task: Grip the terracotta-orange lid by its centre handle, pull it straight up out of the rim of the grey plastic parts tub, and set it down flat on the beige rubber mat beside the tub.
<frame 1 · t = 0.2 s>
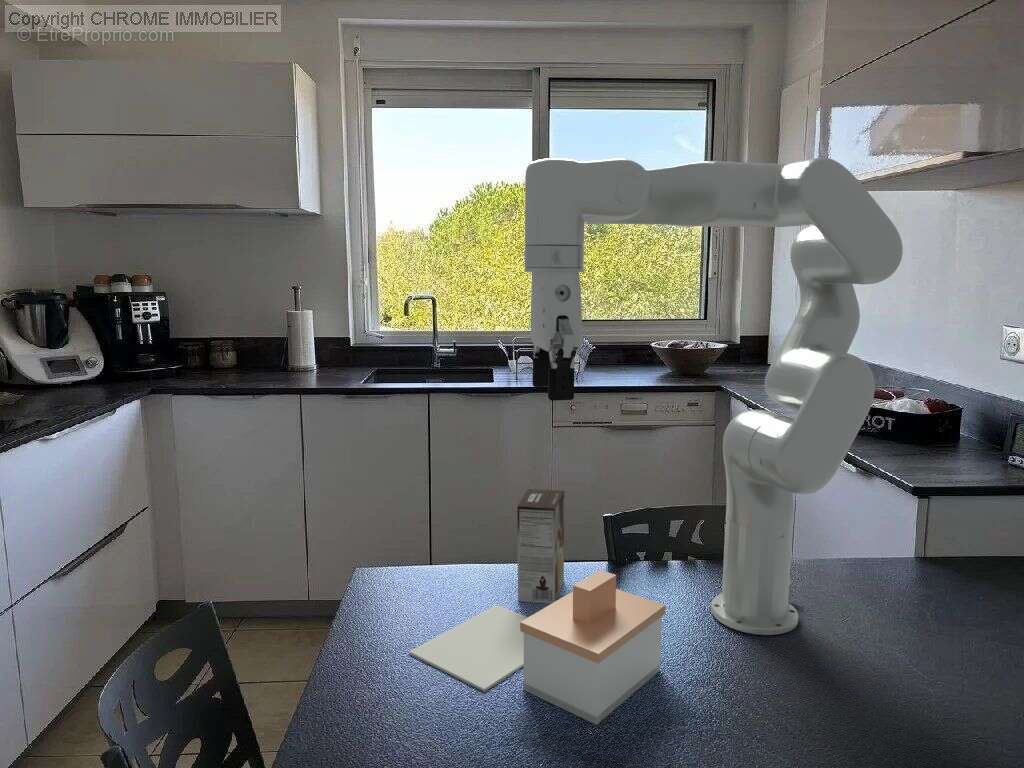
hand: (552, 392, 96), 36 cm above the table, tool pointing down, fingers open, 9 cm apart
tub: (593, 679, 95), on the table
mat: (490, 644, 103), on the table
lid: (594, 622, 93), point 8 cm above the table, touching tub
coffee box: (541, 592, 120), on the table
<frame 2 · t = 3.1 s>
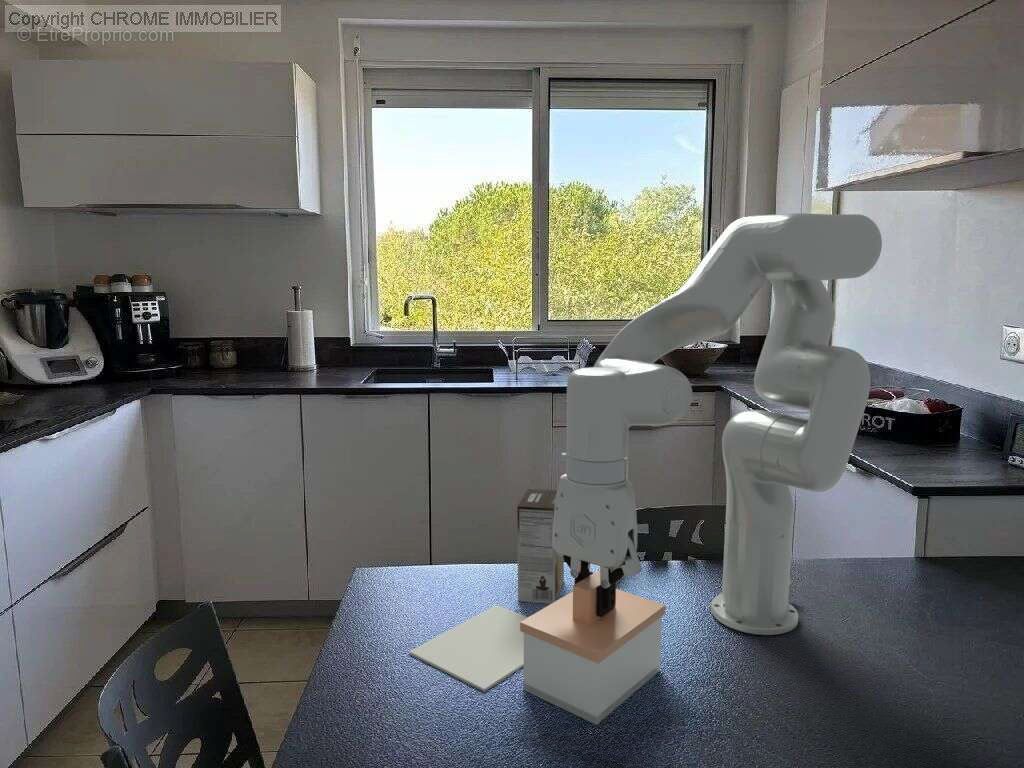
hand: (594, 607, 93), 10 cm above the table, tool pointing down, fingers closed on lid, 2 cm apart
lid: (594, 622, 93), point 8 cm above the table, touching gripper, tub
everything else where it was.
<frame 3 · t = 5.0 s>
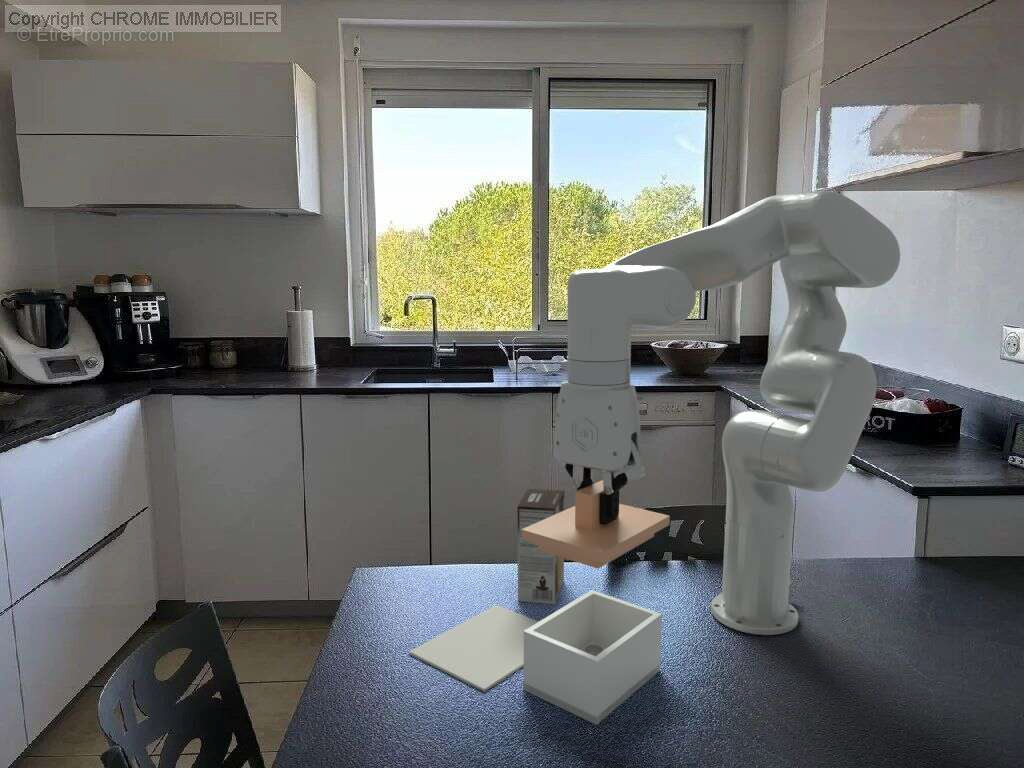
hand: (597, 517, 91), 22 cm above the table, tool pointing down, fingers closed on lid, 2 cm apart
lid: (597, 531, 91), point 20 cm above the table, touching gripper
everything else where it was.
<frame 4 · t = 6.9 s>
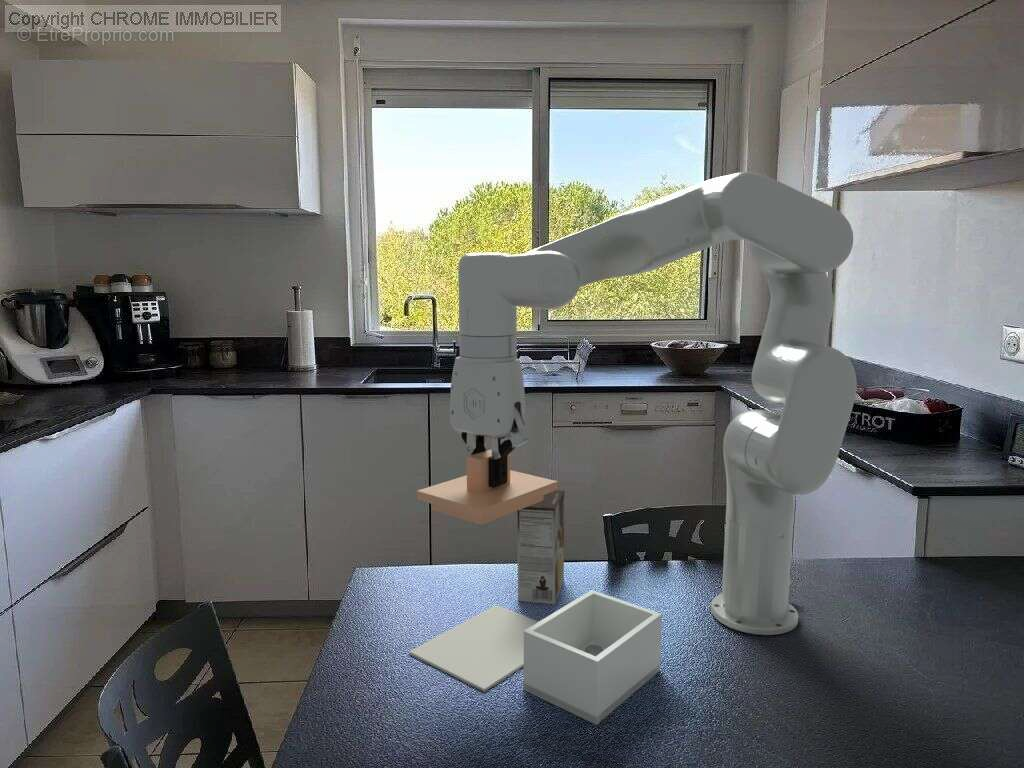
hand: (489, 481, 99), 24 cm above the table, tool pointing down, fingers closed on lid, 2 cm apart
lid: (488, 494, 100), point 22 cm above the table, touching gripper
everything else where it was.
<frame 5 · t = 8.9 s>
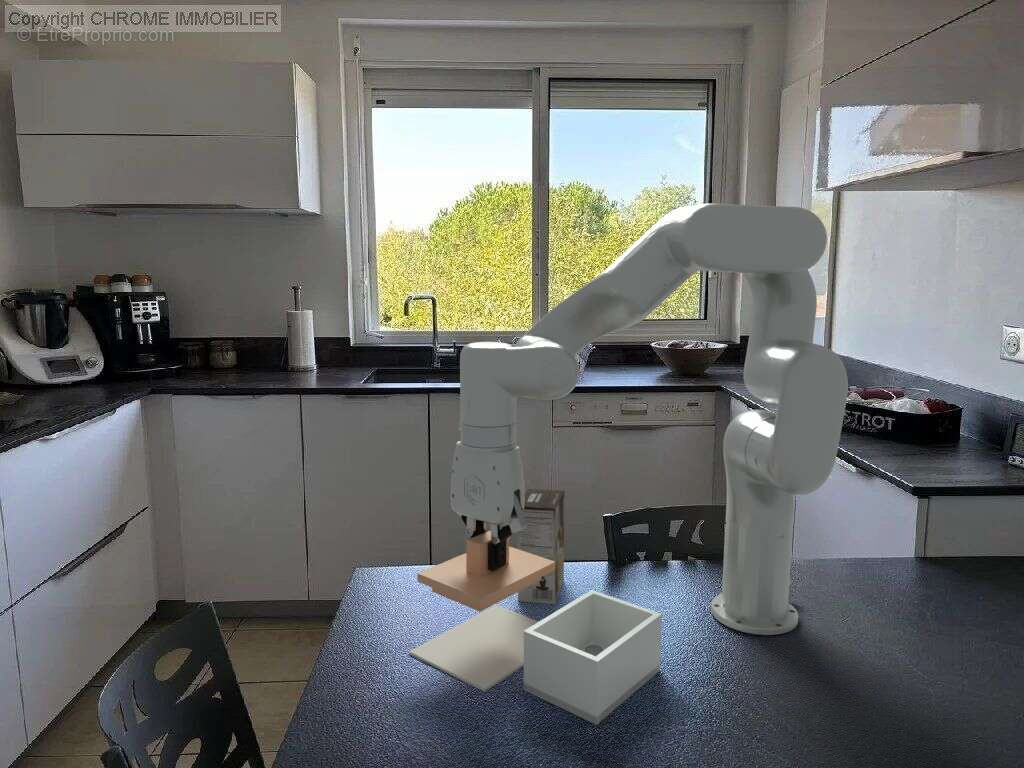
hand: (488, 563, 101), 12 cm above the table, tool pointing down, fingers closed on lid, 2 cm apart
lid: (487, 575, 101), point 10 cm above the table, touching gripper
everything else where it was.
when the fingers open (5 cm above the table, at t = 10.9 s): lid drops 2 cm, resting on mat.
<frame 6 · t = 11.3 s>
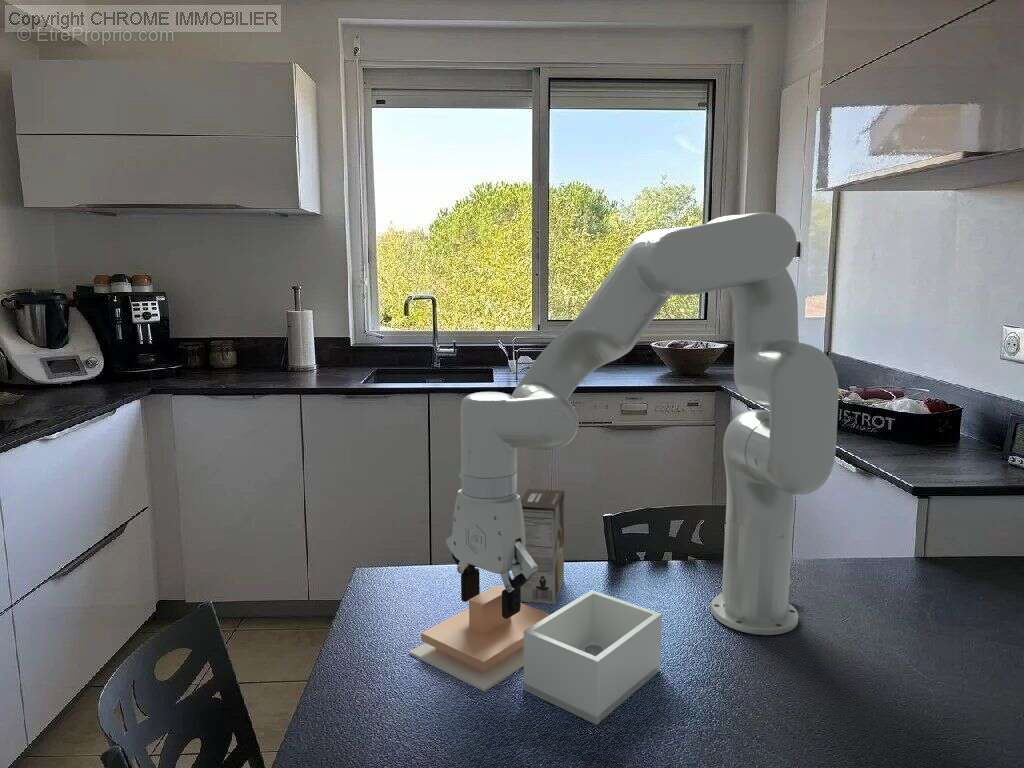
hand: (490, 605, 102), 6 cm above the table, tool pointing down, fingers open, 7 cm apart
lid: (490, 632, 103), point 2 cm above the table, touching mat
everything else where it was.
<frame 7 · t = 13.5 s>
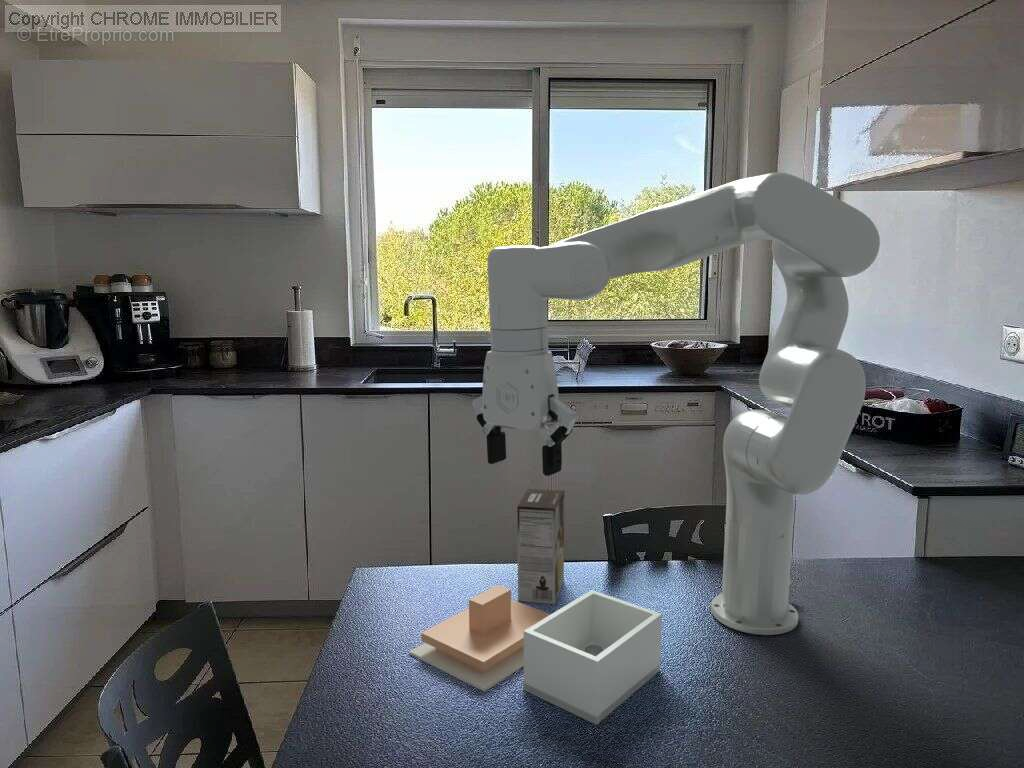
hand: (523, 467, 99), 26 cm above the table, tool pointing down, fingers open, 9 cm apart
nothing on the table moved.
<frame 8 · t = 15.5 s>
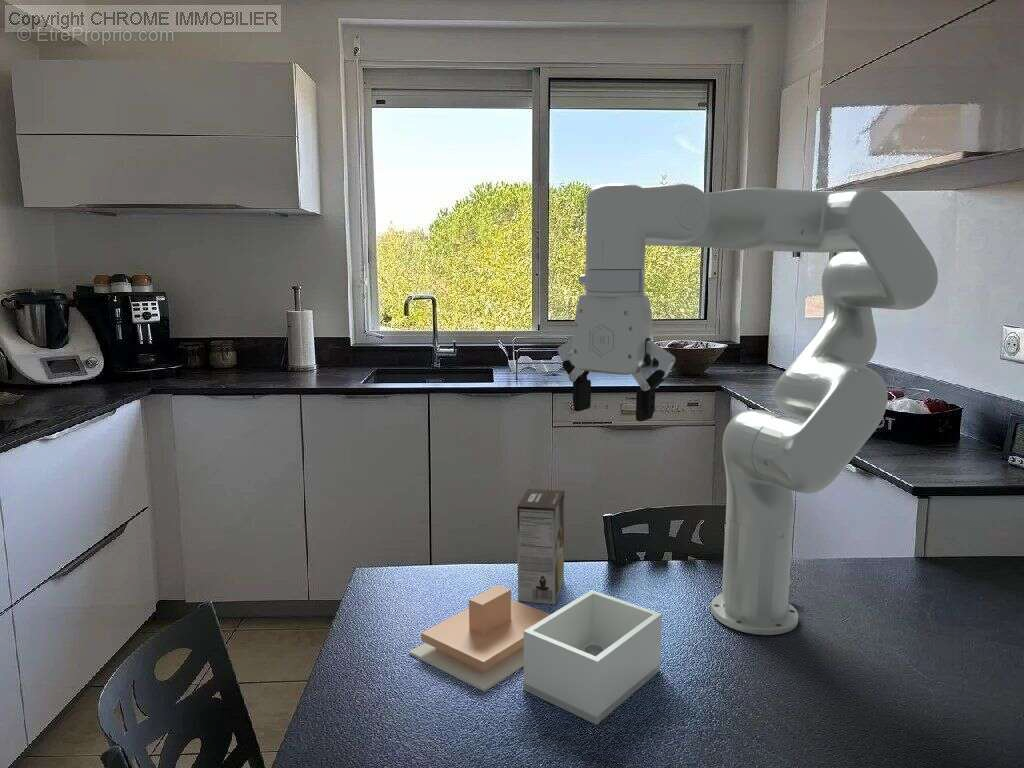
hand: (612, 414, 97), 33 cm above the table, tool pointing down, fingers open, 9 cm apart
nothing on the table moved.
at the end: lid inside the target area on the mat (0.0 cm from its centre), point 1.9 cm above the mat's base; lid tilted 0°; the gripper is holding nothing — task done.
